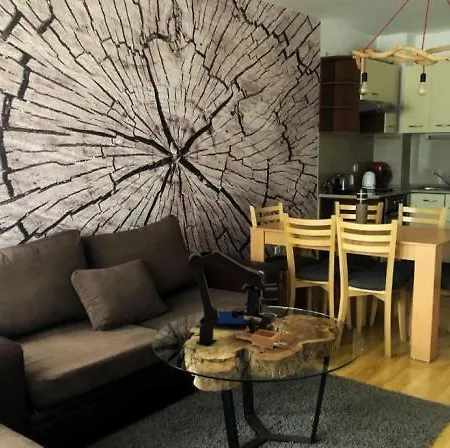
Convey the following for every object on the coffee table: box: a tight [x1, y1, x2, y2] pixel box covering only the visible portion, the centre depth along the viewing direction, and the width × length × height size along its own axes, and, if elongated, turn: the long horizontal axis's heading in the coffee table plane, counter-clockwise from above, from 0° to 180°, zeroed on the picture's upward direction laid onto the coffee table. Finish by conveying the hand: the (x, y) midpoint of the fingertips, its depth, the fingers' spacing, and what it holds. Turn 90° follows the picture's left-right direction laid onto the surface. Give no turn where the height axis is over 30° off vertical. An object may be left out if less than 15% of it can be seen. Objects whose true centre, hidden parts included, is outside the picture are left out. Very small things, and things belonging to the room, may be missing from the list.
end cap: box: [256, 312, 270, 331], centre depth 250 cm, size 10×7×7 cm
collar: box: [250, 329, 282, 345], centre depth 235 cm, size 8×10×4 cm
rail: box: [236, 331, 288, 349], centre depth 236 cm, size 18×23×2 cm
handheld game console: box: [214, 310, 248, 328], centre depth 257 cm, size 16×13×9 cm
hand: (253, 334), depth 238 cm, fingers closed
